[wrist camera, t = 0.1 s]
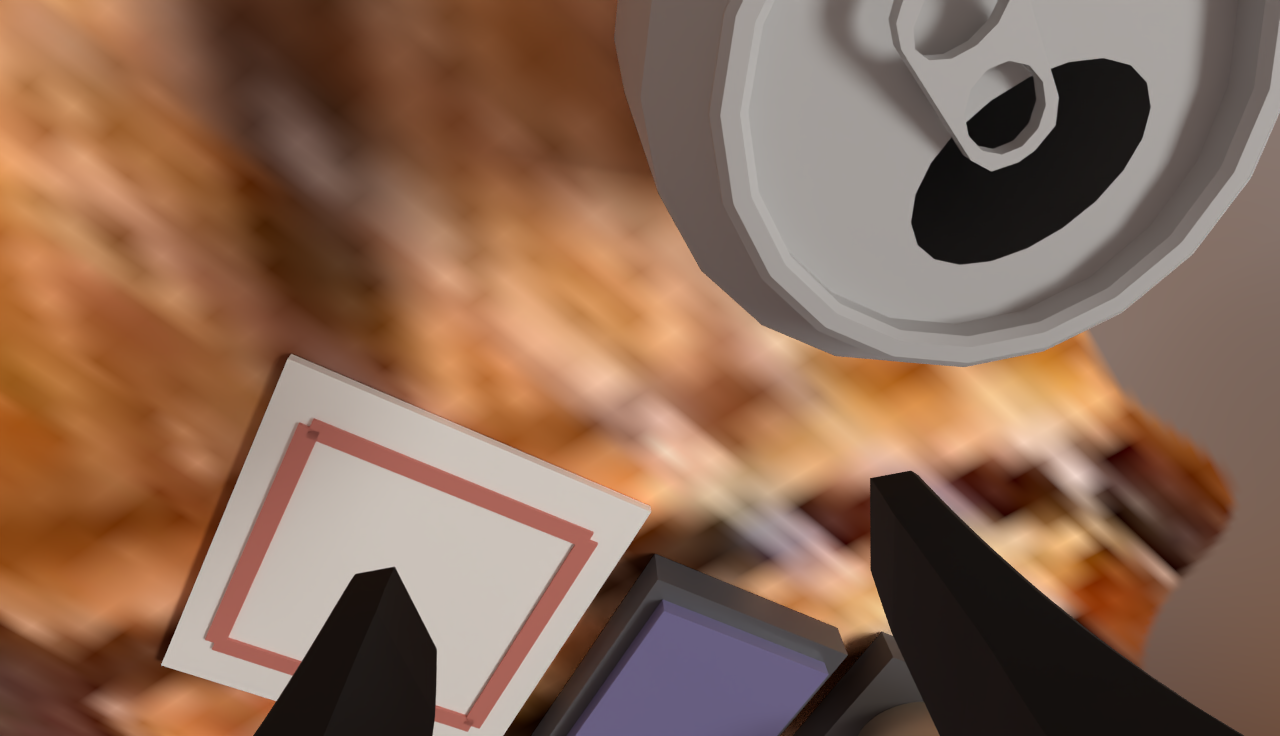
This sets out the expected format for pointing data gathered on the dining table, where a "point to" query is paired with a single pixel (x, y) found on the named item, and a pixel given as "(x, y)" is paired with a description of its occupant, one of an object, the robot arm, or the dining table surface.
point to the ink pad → (695, 663)
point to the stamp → (873, 699)
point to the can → (947, 157)
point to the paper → (399, 547)
